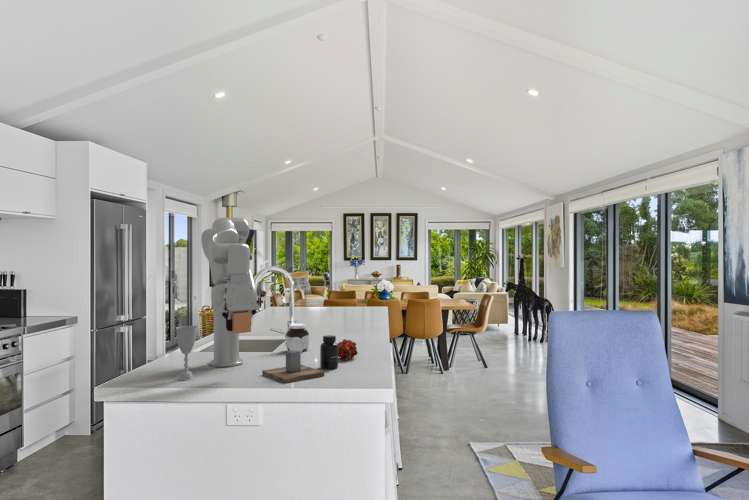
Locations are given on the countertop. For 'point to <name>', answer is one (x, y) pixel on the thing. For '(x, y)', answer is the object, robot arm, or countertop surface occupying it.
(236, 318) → the peach colored cube
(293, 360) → the metal post
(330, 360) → the supplement bottle
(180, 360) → the countertop surface
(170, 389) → the countertop surface
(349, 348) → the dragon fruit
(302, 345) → the spread jar
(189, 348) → the chalice
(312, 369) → the walnut board
